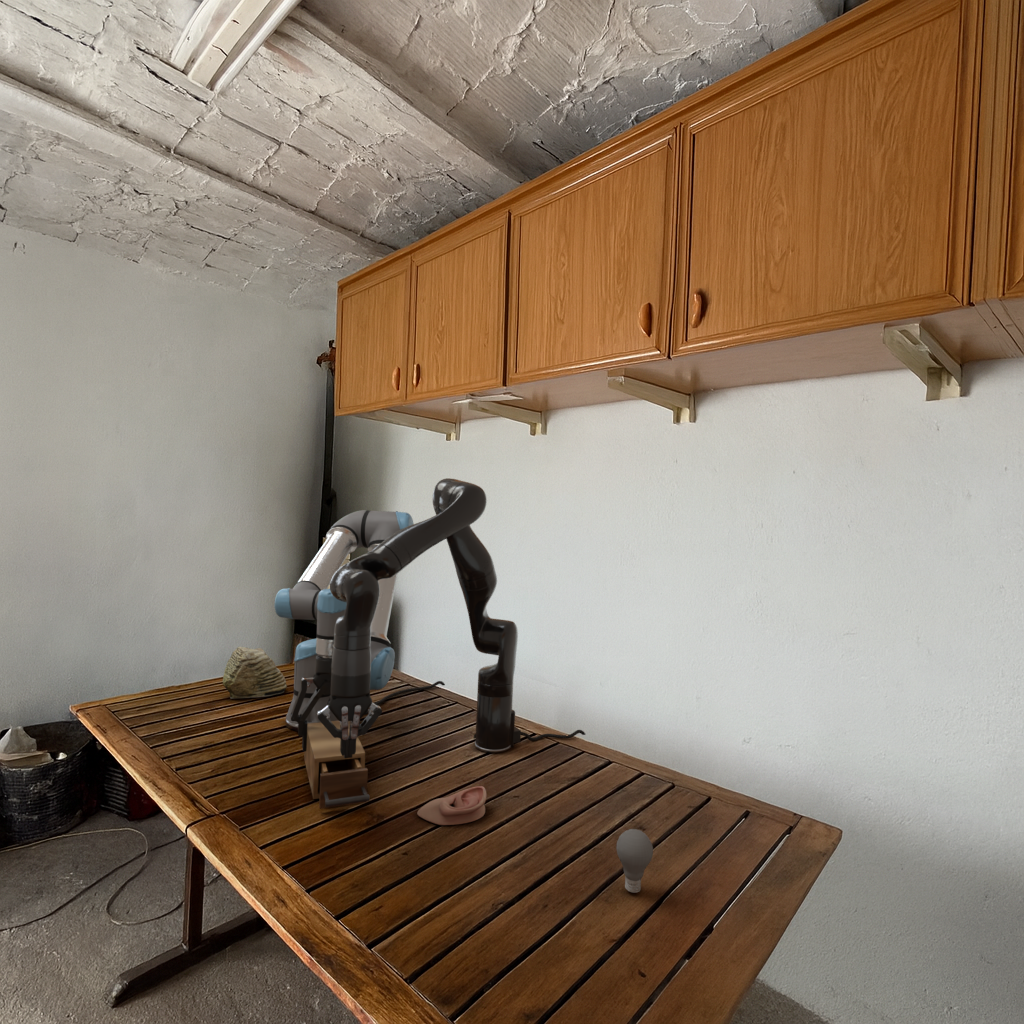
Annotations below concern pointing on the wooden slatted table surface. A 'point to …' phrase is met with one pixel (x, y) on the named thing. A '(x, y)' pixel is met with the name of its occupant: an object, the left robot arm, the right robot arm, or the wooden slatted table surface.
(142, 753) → the wooden slatted table surface
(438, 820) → the anatomical model
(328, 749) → the cabinet
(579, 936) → the wooden slatted table surface
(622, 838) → the light bulb
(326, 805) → the drawer
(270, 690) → the fossil
